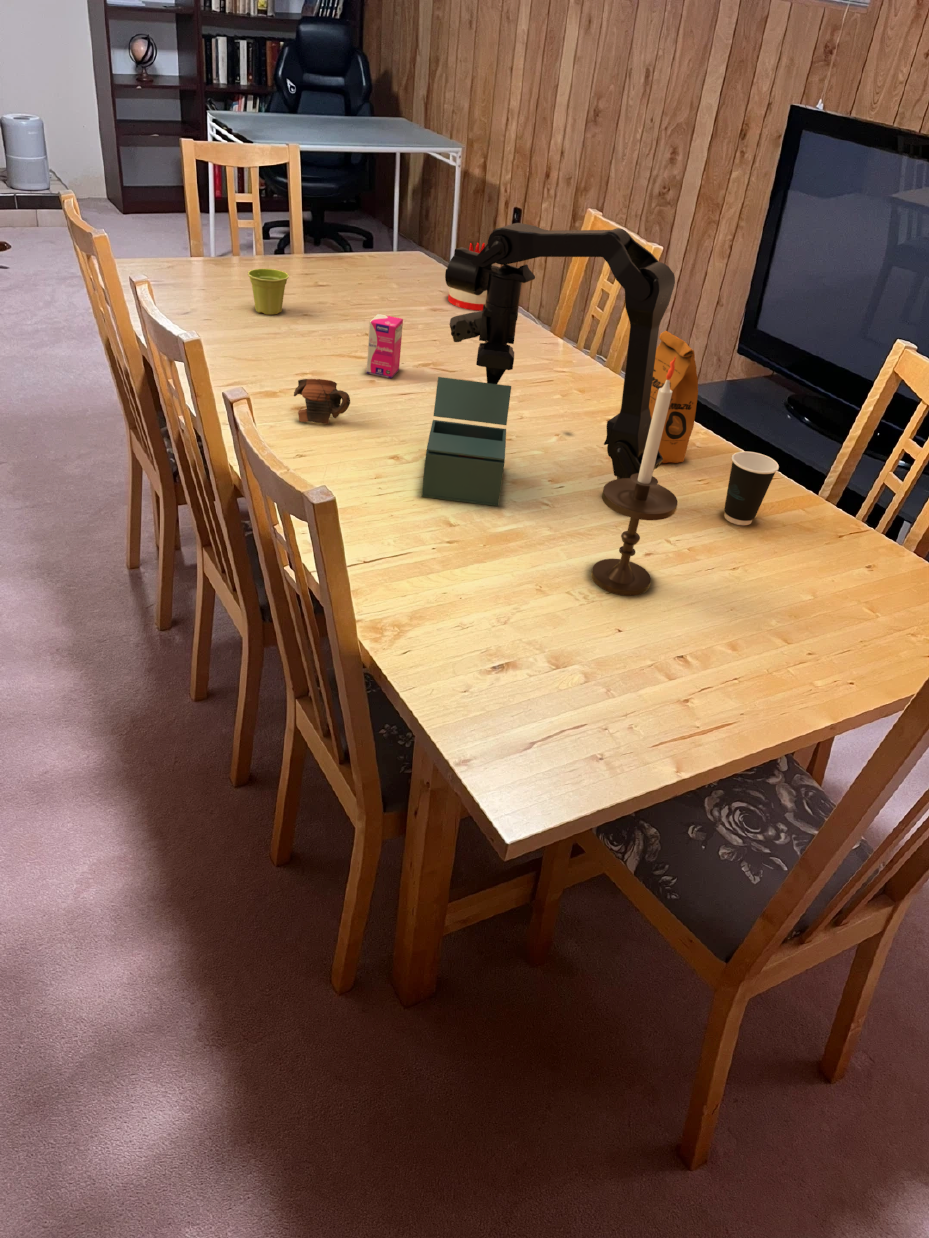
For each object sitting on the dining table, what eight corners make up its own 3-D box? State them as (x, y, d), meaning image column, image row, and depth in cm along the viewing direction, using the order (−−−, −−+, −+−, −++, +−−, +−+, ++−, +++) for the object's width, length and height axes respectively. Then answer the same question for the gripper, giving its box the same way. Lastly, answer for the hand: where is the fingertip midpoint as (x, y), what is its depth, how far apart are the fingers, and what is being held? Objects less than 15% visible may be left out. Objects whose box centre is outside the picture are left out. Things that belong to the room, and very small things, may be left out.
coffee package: (644, 465, 185) (671, 352, 172) (619, 437, 194) (643, 328, 182) (691, 465, 187) (721, 353, 175) (664, 437, 197) (691, 329, 185)
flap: (438, 376, 171) (438, 377, 171) (433, 416, 171) (433, 416, 171) (511, 386, 171) (511, 386, 171) (506, 425, 171) (506, 425, 172)
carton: (421, 496, 164) (426, 449, 160) (428, 461, 176) (433, 415, 171) (498, 506, 165) (505, 459, 160) (500, 470, 176) (506, 424, 171)
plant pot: (243, 305, 235) (243, 268, 230) (282, 304, 238) (282, 267, 234) (254, 318, 228) (253, 280, 223) (293, 317, 232) (293, 279, 227)
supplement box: (365, 374, 207) (368, 321, 200) (374, 365, 212) (377, 312, 205) (391, 379, 206) (395, 326, 200) (399, 370, 211) (403, 318, 204)
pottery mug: (282, 422, 184) (284, 377, 183) (308, 428, 193) (310, 386, 192) (339, 421, 179) (340, 376, 179) (363, 428, 188) (364, 384, 188)
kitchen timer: (441, 293, 260) (447, 234, 252) (490, 294, 264) (497, 236, 256) (456, 310, 250) (463, 249, 241) (507, 311, 254) (515, 251, 245)
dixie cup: (710, 521, 169) (727, 463, 163) (720, 503, 175) (736, 447, 169) (756, 534, 167) (775, 476, 160) (764, 516, 173) (782, 459, 167)
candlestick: (609, 553, 156) (658, 338, 136) (668, 581, 151) (728, 362, 131) (571, 577, 149) (617, 353, 129) (632, 607, 143) (689, 379, 124)
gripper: (458, 281, 174) (449, 365, 183) (451, 313, 159) (442, 403, 168) (520, 289, 174) (508, 373, 183) (519, 322, 159) (506, 411, 168)
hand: (490, 389), depth 176 cm, fingers closed
